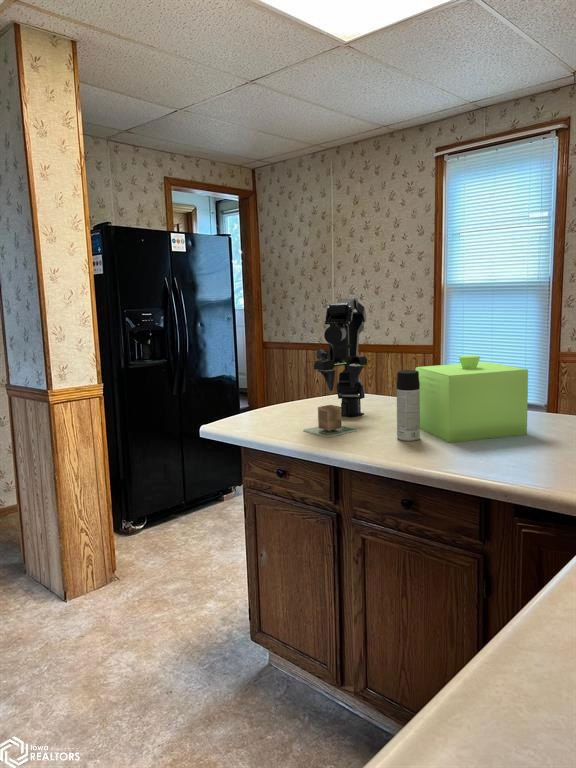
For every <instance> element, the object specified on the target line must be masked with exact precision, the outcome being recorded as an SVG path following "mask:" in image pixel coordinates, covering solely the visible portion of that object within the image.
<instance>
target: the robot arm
mask: <svg viewBox="0 0 576 768" xmlns="http://www.w3.org/2000/svg"><path fill="white" fill-rule="evenodd" d="M365 322H367V313H366V309H365V306H364V305H362V304H361V303H360V302H359V300H358V298H357V297H344V298H342V300H341V301H340V302H330V303H329V304H328V306H327V307H326V313H325V321H324V324H325V325H327V326H328V325H329V326H328V327H327V328H325V330H324V332H323V333H324V334H323V335H324V340H325V341H326V342H327V343H328V349H326V350H324V349H323V348H321V349H320V348H319V349H317V350H316V360H315V361H314V362H313V369H314V370H317V372H318V373H321V375H322V377H323V378H324V380H325V383H326V385H327V387H328V389H329V391H330V392H332V391H333V390H334V387H335V385H334V384H335V375H336V370H335V369H334V368H335V367H340V366H341V367H342V366H344V369H343V370H342V371H340V373H339V377H338V381H337V383H336V391H337V400H340V399H341V402H340V407H341V416H345V417H349V418H353V417H359V416H363V415H365V413H364V412H362V411H361V410H362V409H361V408H362V407H361V400H362V399H366V398H365V397H366V396H365V387H364V384H363V382H362V380H361V378H360V374H361V372H362V370H363V369H364V368H365V366H366V365H368V358H367V357H366V356H364V355H359V343H360V334H361V332H363V330H364V329H365Z"/></svg>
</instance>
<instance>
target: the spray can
mask: <svg viewBox="0 0 576 768" xmlns="http://www.w3.org/2000/svg"><path fill="white" fill-rule="evenodd" d="M396 374H397V375H396V436H397V437H396V438H397V440H399V441H404V442H406V441H407V442H413V441H415V442H416V441H418V440H419V439H420V438H421V429H420V381H419V372H418V371H416V370H415V369H411V370H410V369H404V370H398V371H397V373H396Z"/></svg>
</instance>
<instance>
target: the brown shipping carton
mask: <svg viewBox="0 0 576 768" xmlns="http://www.w3.org/2000/svg"><path fill="white" fill-rule="evenodd" d="M317 418H318V419H317V422H318V423H317V424H318V426H317V427H318V428H320V429H324V430H328V431H330V430H335V429H339V428H342V426H343V425H342V415H341V406H338V405H333V404H328V405H322V406H321V405H320V406H318V407H317Z"/></svg>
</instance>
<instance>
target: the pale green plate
mask: <svg viewBox="0 0 576 768" xmlns="http://www.w3.org/2000/svg"><path fill="white" fill-rule="evenodd" d="M357 430H358V429H357V428H352V427H349V426H344V425H342V428H339V429H335V430H330V431H328V430H324V429H320V428H318V426H313V427H310V428H304V429H303V432H306V433H308V434H314V435H317V436H320V437H324V438H332V437H333V438H334V437H337V436H341V435H345V434H349V433H354V432H357Z"/></svg>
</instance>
